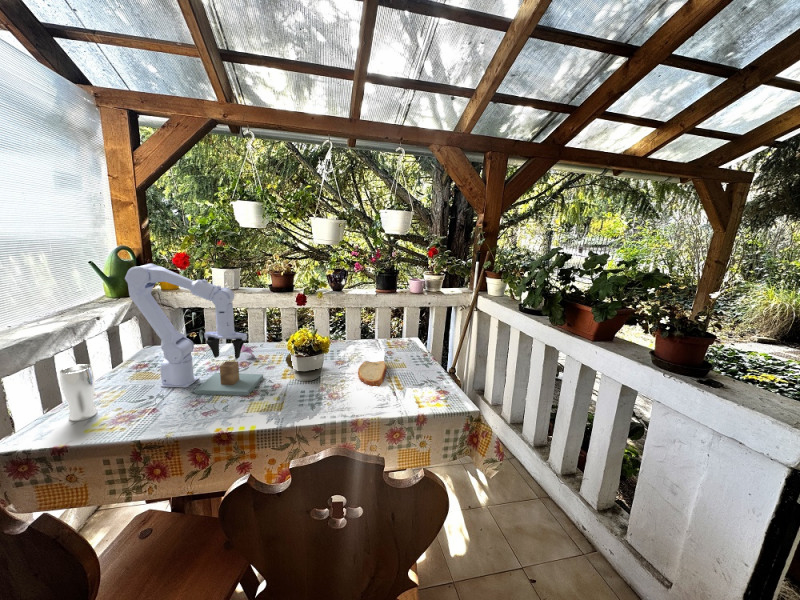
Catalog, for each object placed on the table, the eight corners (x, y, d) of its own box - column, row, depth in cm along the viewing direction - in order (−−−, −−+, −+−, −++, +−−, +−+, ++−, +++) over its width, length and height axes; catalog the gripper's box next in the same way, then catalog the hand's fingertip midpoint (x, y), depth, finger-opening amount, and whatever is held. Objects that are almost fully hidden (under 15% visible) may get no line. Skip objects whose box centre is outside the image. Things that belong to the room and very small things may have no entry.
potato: (317, 375, 134) (316, 356, 132) (284, 374, 133) (283, 355, 131) (320, 366, 142) (320, 348, 140) (289, 366, 141) (289, 348, 139)
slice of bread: (374, 389, 124) (374, 380, 124) (343, 374, 136) (343, 365, 135) (405, 375, 138) (405, 366, 137) (375, 362, 149) (375, 354, 149)
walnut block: (220, 384, 119) (219, 366, 117) (227, 379, 123) (225, 361, 122) (233, 385, 119) (232, 366, 118) (239, 379, 123) (238, 361, 122)
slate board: (194, 393, 115) (194, 389, 114) (216, 376, 128) (215, 372, 128) (247, 395, 115) (247, 391, 115) (263, 377, 129) (263, 374, 129)
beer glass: (80, 409, 102) (73, 363, 99) (105, 409, 103) (98, 363, 100) (60, 422, 96) (51, 373, 93) (86, 422, 96) (78, 373, 93)
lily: (253, 366, 141) (262, 344, 144) (224, 357, 137) (233, 335, 140) (253, 364, 152) (261, 344, 155) (226, 356, 148) (235, 335, 151)
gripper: (198, 323, 117) (201, 360, 119) (239, 325, 117) (241, 362, 120) (209, 318, 124) (212, 353, 126) (248, 320, 124) (250, 355, 126)
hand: (227, 357), depth 123 cm, fingers open, 7 cm apart
